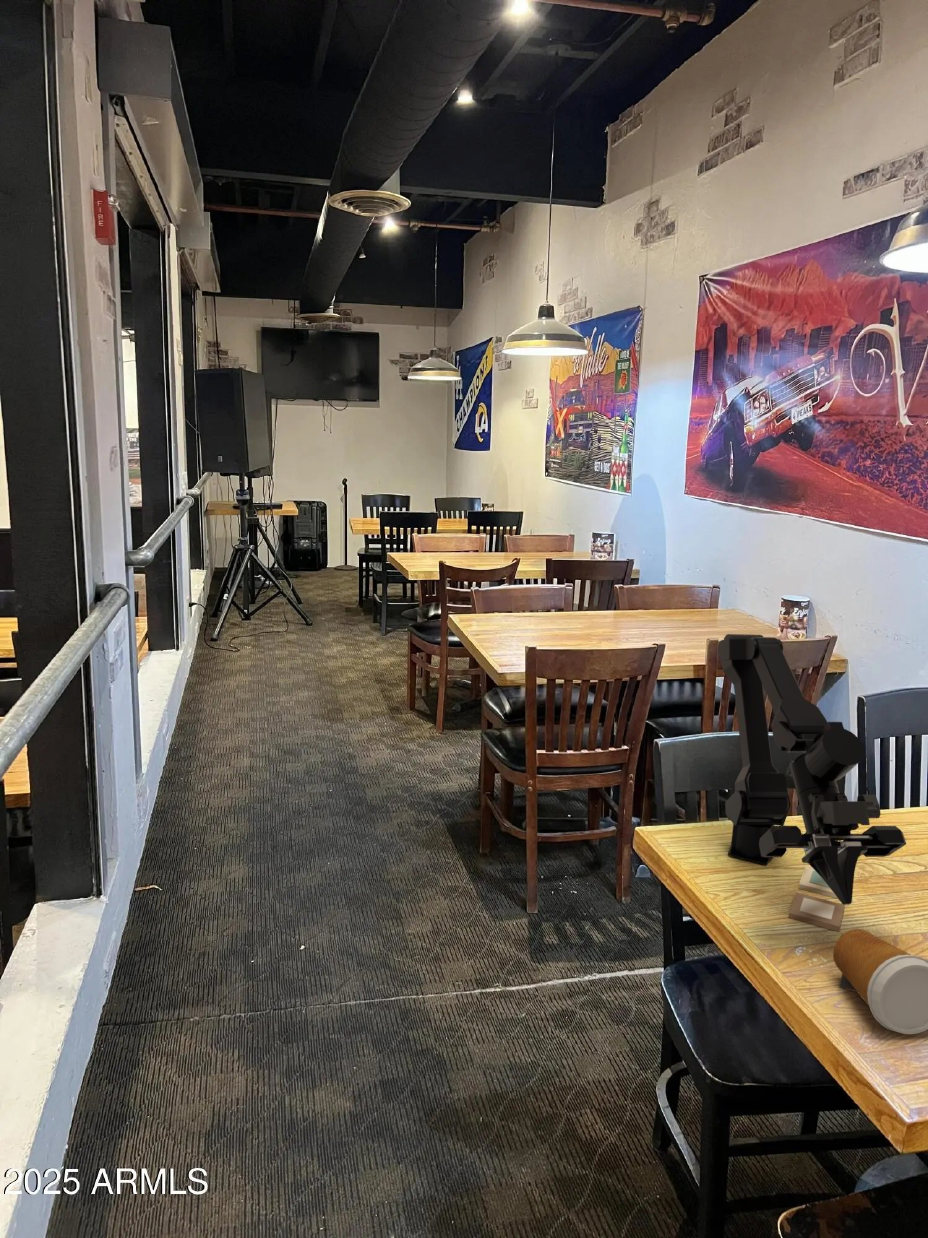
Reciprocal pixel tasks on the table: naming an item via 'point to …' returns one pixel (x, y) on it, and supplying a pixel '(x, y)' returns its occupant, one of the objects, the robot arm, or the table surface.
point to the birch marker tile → (814, 883)
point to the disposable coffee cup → (885, 980)
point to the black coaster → (846, 984)
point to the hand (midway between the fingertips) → (847, 904)
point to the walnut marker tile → (817, 911)
